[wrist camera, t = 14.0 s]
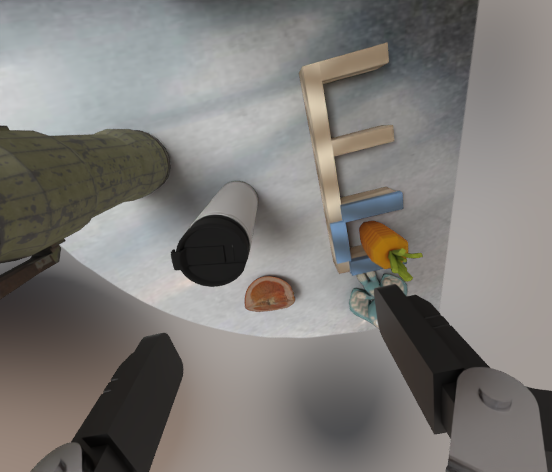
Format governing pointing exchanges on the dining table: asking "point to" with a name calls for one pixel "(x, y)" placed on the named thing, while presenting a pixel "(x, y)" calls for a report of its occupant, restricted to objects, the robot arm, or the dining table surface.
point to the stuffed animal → (371, 295)
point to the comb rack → (328, 147)
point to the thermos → (66, 189)
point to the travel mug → (219, 237)
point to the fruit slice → (268, 294)
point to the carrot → (386, 248)
